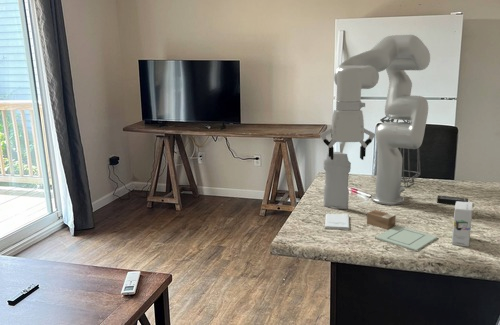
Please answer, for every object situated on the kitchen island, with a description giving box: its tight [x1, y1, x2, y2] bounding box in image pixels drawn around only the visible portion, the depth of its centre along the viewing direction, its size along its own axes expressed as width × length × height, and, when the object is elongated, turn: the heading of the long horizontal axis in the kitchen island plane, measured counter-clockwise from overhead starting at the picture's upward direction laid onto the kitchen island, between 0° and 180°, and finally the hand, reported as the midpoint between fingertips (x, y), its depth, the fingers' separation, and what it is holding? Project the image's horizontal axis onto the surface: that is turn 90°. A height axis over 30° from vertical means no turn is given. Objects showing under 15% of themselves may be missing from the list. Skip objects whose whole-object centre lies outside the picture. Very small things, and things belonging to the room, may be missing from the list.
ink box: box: [451, 201, 473, 247], centre depth 139 cm, size 8×5×12 cm, turn 154°
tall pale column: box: [323, 151, 352, 210], centre depth 171 cm, size 11×4×22 cm, turn 61°
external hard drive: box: [324, 213, 350, 231], centre depth 158 cm, size 2×8×12 cm
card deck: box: [366, 209, 397, 231], centre depth 155 cm, size 5×8×4 cm, turn 43°
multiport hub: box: [436, 195, 469, 206], centre depth 175 cm, size 4×11×2 cm, turn 66°
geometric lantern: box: [379, 115, 422, 188], centre depth 199 cm, size 16×16×35 cm
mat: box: [374, 224, 438, 252], centre depth 143 cm, size 14×14×1 cm
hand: (346, 158), depth 146 cm, fingers open, 9 cm apart
